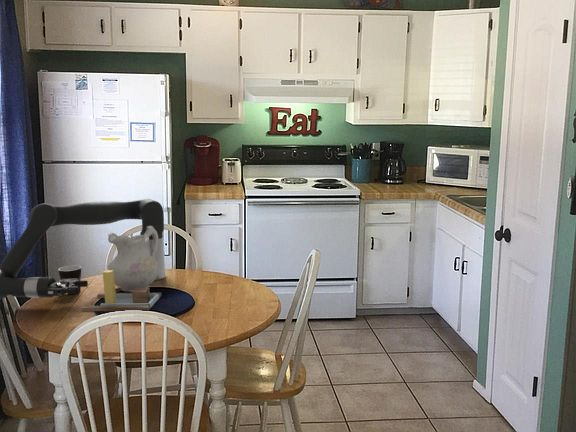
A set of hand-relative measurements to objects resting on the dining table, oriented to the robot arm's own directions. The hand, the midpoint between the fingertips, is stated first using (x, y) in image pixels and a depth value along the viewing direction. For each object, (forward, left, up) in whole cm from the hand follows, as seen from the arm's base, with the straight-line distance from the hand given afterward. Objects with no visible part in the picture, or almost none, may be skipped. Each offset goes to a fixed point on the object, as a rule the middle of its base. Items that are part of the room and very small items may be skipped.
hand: (83, 286), depth 244 cm
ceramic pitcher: (-21, +13, -8) cm, 26 cm away
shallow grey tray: (0, +17, -7) cm, 19 cm away
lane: (0, +14, -7) cm, 16 cm away
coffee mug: (-19, -12, -8) cm, 23 cm away
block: (0, +21, -6) cm, 22 cm away
